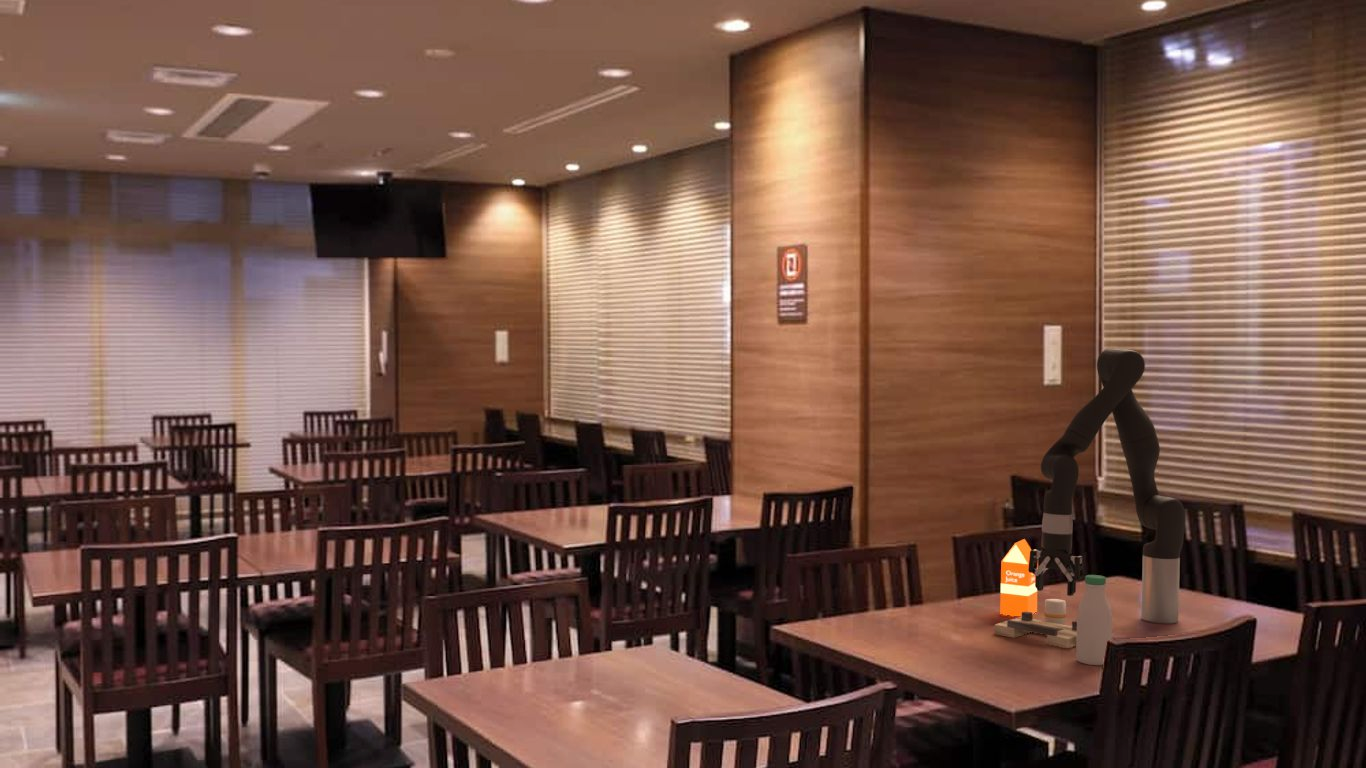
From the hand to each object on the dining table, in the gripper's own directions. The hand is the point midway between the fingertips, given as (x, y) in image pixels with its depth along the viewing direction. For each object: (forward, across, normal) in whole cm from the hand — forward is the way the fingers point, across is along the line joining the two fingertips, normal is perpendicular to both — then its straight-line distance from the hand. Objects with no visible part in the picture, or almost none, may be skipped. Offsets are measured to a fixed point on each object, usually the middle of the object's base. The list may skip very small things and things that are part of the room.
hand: (1054, 592), depth 314 cm
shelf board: (+9, -3, +11) cm, 15 cm away
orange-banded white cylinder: (+9, 0, 0) cm, 9 cm away
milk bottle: (+10, -23, +25) cm, 35 cm away
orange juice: (+9, +15, -9) cm, 20 cm away
